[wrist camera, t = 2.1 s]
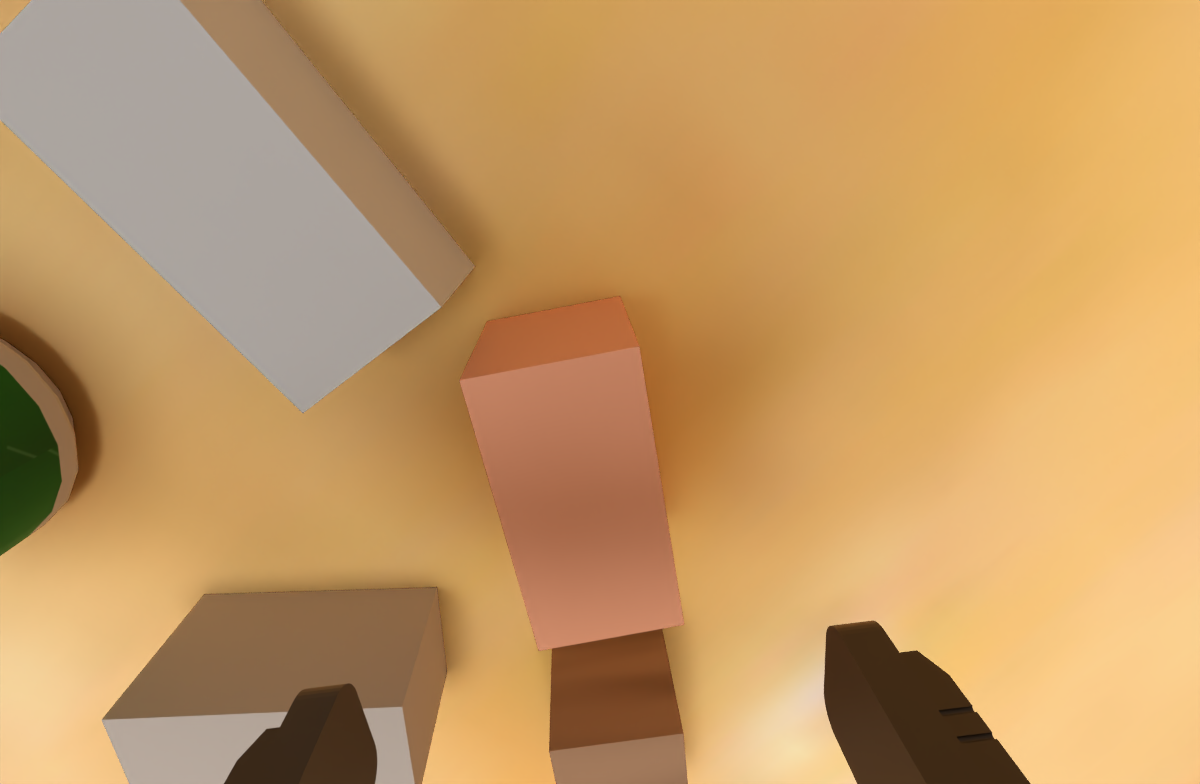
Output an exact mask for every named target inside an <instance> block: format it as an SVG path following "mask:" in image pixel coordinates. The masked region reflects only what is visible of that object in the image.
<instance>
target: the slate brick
mask: <svg viewBox="0 0 1200 784" xmlns="http://www.w3.org/2000/svg"><path fill="white" fill-rule="evenodd" d="M446 674H447V667H446V658H445V650H444V641H443V633H442V624H441V616H440V608H439V599H438V591H437V587H430V588H397V589H363V590H330V591H297V592H264V593H231V594H204V595H203V596H202V598H201V599H200V600H199V601H198V603H197V604H196V605H195V606H194V607H193V609H192V610H191V611H190V612H189V614H188V615H187V616H186V617H185V618H184V620H183V621H182V622H181V623H180V625H179V626H178V627H177V628H176V629H175V631H174V632H173V633H172V634H171V636H170V637H169V638H168V639H167V640H166V642H165V643H164V644H163V645H162V647H161V648H160V649H159V650H158V652H157V653H156V654H155V655H154V656H153V658H152V659H151V660H150V661H149V663H148V664H147V665H146V666H145V667H144V669H143V670H142V671H141V672H140V674H139V675H138V676H137V677H136V678H135V680H134V681H133V682H132V683H131V685H130V686H129V687H128V688H127V689H126V691H125V692H124V693H123V694H122V696H121V697H120V698H119V699H118V700H117V702H116V703H115V704H114V705H113V707H112V708H111V709H110V710H109V711H108V713H107V714H106V715H105V716H104V718H103V719H102V722H103V724H104V727H105V729H106V731H107V734H108V736H109V738H110V740H111V743H112V745H113V747H114V750H115V752H116V754H117V757H118V759H119V761H120V763H121V766H122V768H123V770H124V773H125V775H126V777H127V780H128V782H129V784H224V783H225V781H226V779H227V777H228V775H229V774H230V772H231V770H232V768H233V767H234V765H235V763H236V761H237V760H238V759H239V758H240V757H241V756H242V755H243V754H244V752H245V751H246V750H247V749H248V748H249V747H250V746H251V745H252V744H253V743H254V742H255V741H256V740H257V738H258V737H259V736H260V735H261V734H262V733H263V732H264V731H265V730H266V729H269V728H277V727H280V726H281V724H282V722H283V720H284V718H285V716H286V714H287V712H288V711H289V709H290V707H291V705H292V703H293V701H294V699H295V697H296V696H297V695H298V693H299V692H300V691H302V690H303V689H307V688H315V687H323V686H331V685H339V684H348V683H350V684H352V685H353V686H354V687H355V689H356V691H357V694H358V697H359V700H360V702H361V705H362V708H363V711H364V714H365V717H366V719H367V722H368V725H369V728H370V731H371V734H372V736H373V739H374V742H375V745H376V750H377V775H376V781H375V784H422V781H423V776H424V772H425V767H426V763H427V758H428V754H429V749H430V745H431V741H432V736H433V732H434V727H435V723H436V718H437V714H438V709H439V705H440V701H441V696H442V692H443V687H444V683H445V678H446Z"/></svg>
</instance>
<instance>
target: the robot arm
mask: <svg viewBox="0 0 1200 784" xmlns="http://www.w3.org/2000/svg"><path fill="white" fill-rule="evenodd" d="M824 699H825V705H826V710H827V714H828V718H829V721H830V724H831V727H832V730H833V732H834V735H835V737H836V739H837V741H838V743H839V745H840V748H841V750H842V752H843V754H844V756H845V758H846V760H847V763H848V765H849V767H850V769H851V771H852V773H853V775H854V778H855V780H856V782H857V784H1030V783H1029V781H1028V780H1027V779H1026V777H1025V776H1024V774H1023V773H1022V772H1021V770H1020V769H1019V768H1018V766H1017V765H1016V764H1015V762H1014V761H1013V760H1012V758H1011V757H1010V756H1009V754H1008V753H1007V752H1006V750H1005V749H1004V748H1003V746H1002V745H1001V744H1000V742H999V741H998V740H997V739H994V738H993V736H992V732H991V730H990V729H989V728H988V726H987V725H986V724H985V722H984V721H983V720H982V718H981V717H980V716H979V714H978V713H977V712H974V711H973V708H972V705H971V704H970V702H969V701H968V700H967V698H966V697H965V696H964V694H963V693H962V692H961V690H960V689H959V688H958V686H957V685H956V684H955V682H954V681H953V679H952V678H951V677H950V675H948V674H947V673H946V672H945V671H943V670H942V669H941V668H939V667H938V666H937V665H935V664H934V663H933V662H931V661H930V660H929V659H927V658H926V657H925V656H924V655H922V654H921V653H920V652H918V651H909V652H901V653H899V651H898V650H897V648H896V647H895V645H894V644H893V643H892V641H891V640H890V638H889V637H888V635H887V634H886V632H885V631H884V629H883V628H882V627H881V626H880V625H879V624H878V623H877V622H876V621H866V622H858V623H850V624H842V625H834V626H829V627H828V629H827V633H826V653H825V677H824ZM376 775H377V750H376V745H375V742H374V739H373V736H372V734H371V731H370V728H369V725H368V722H367V719H366V717H365V714H364V711H363V708H362V705H361V702H360V700H359V697H358V694H357V691H356V689H355V687H354V686H353V685H352V684H350V683H348V684H339V685H331V686H323V687H315V688H307V689H303V690H302V691H300V692H299V693H298V695H297V696H296V697H295V699H294V701H293V703H292V705H291V707H290V709H289V711H288V712H287V714H286V716H285V718H284V720H283V722H282V724H281V726H280V727H277V728H269V729H266V730H265V731H264V732H263V733H262V734H261V735H260V736H259V737H258V738H257V740H256V741H255V742H254V743H253V744H252V745H251V746H250V747H249V748H248V749H247V750H246V751H245V752H244V754H243V755H242V756H241V757H240V758H239V759H238V760H237V761H236V763H235V765H234V767H233V768H232V770H231V772H230V774H229V775H228V777H227V779H226V781H225V783H224V784H375V781H376Z"/></svg>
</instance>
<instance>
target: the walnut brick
mask: <svg viewBox="0 0 1200 784" xmlns="http://www.w3.org/2000/svg"><path fill="white" fill-rule="evenodd" d="M549 753H550V757H551V762H552V767H553V771H554V776H555V781H556V784H688V781H687V770H686V758H685V747H684V735H683V729H682V725H681V720H680V715H679V710H678V705H677V700H676V695H675V690H674V685H673V680H672V676H671V671H670V666H669V661H668V656H667V651H666V646H665V641H664V636H663V632H662V629H658V630H652V631H647V632H641V633H635V634H630V635H624V636H619V637H613V638H608V639H602V640H597V641H591V642H586V643H580V644H574V645H569V646H563V647H558V648H552V668H551V704H550V741H549Z"/></svg>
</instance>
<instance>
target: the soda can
mask: <svg viewBox="0 0 1200 784" xmlns="http://www.w3.org/2000/svg"><path fill="white" fill-rule="evenodd" d="M77 472H78V459H77V449H76V439H75V432H74V425H73V418H72V416H71V414H70V411H69V409H68V407H67V405H66V403H65V401H64V399H63V397H62V394H61V392H60V390H59V389H58V388H57V387H56V386H55V384H54V383H53V382H52V381H51V380H50V379H49V377H48V376H47V375H46V374H45V373H44V372H43V370H42V369H41V368H40V367H39V366H38V365H37V364H36V363H35V362H34V361H32V360H31V359H30V358H28V357H27V356H25V355H24V354H23V353H21V352H20V351H19V350H17V349H16V348H15V347H13V346H12V345H10V344H9V343H8V342H6V341H4V340H2V339H0V556H1V555H2V554H4V553H5V552H6V551H8V550H9V549H11V548H12V547H13V546H15V545H16V544H18V543H19V542H21V541H22V540H23V539H25V538H26V537H28V536H29V535H30V534H32V533H33V532H35V531H36V530H38V529H39V528H40V527H42V526H43V525H44V524H45V523H46V522H47V521H48V520H49V519H50V518H51V517H52V516H53V515H54V514H55V513H56V512H57V511H58V510H59V509H60V508H61V507H62V506H63V505H64V504H65V503H66V502H67V501H68V499H69V497H70V494H71V491H72V487H73V484H74V481H75V478H76V475H77Z"/></svg>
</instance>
